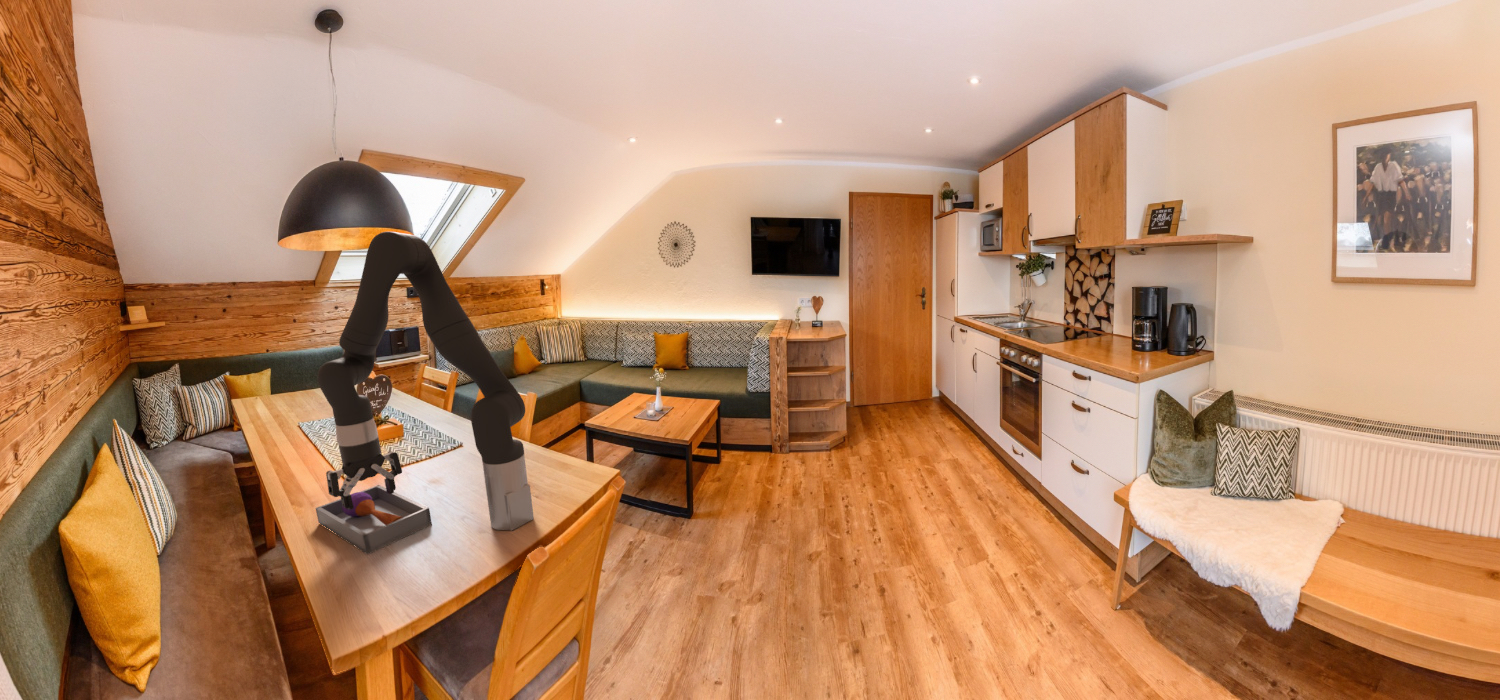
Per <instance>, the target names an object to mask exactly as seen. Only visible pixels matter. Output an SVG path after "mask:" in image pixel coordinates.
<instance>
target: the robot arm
mask: <svg viewBox="0 0 1500 700" xmlns="http://www.w3.org/2000/svg"><path fill="white" fill-rule="evenodd" d="M363 265H364V266H363V270H362V273H361V278H360V282H359V287H358V291H357V295H356V298H355V303H354V305H353V307H352V310H351V313H350V315H349V318H348V320H347V321H346V324H345V327H344V328H343V330H342V332H341V335H340V337H339V341H338V342H339V343H338V344H339V347H340V348H341V349H342V350H344V351H343V353H342V356H340V358H339V357H338V358H337V359H333V360H329V361H327V362H325V363H323V364H322V365H321V366H320V367H319V369H318V372H317V384H318V386H319V388H320V390H321V392H322V394H323V395H324V397H325V399H326V401H327V403H328V404H329V405H330V407H331V409H332V415H333V418H334V423H335V435H336V442H337V444H338V450H339V453H340V458H341V462H342V465H341V466H342V467H341V468H340V469H337V470H327V471H326V473H325V475H326V482H327V489H328V490H327V491H328V494H329V495H330V496H332V497H334V498H337V497H340V499H341V501H342V506H343V507H345V508H346V509H349V510H351V509H353V508H354V507H353V502H352V498H351V491H352V490H353V488H354V487H356V486H357V483H358V482H362V481H365V480H367V479H368V478H374V477H377V476H376V475H378V474H379V475H381V476H383V477H385V478H384V485H385V486H384V487H385V488H386V491H387V493H389V494H392V493H394V492H395V490H396V489H397V487H396V481H395V478H396V476H398V475H401V474H402V472H403V469H402V466H401V461H400V457H399V455H398V452H395V451H393V450H389V451H387V453H385V454H382V448H381V444H380V437H379V434H378V433H379V432H378V428H377V424H376V421H375V419H374V414H373V410H372V404H371V401H370V399H369V397H368V396H366V395H363V394H359V393H358V392H357V389H356V386H357V385H359V384H362V383H364V382H365V381H366V380H368V379H369V377H370V375H371V374H372V372H373V370H374V368H375V361H376V356H377V355H376V354H377V353H376V352H377V348H378V346H379V344H380V342H381V341H382V338H383V336H384V333H385V331H386V329H387V326H388V322H389V315H390V314H389V296H390V293H391V290H392V287H393V285H394V283H395V282H396V281H397V278H399V276H400V275H404V276H405V278H406V279H407V280H408V281H409V283H410V284H411V287H413V289H414V291H415V292H416V295H417V296H418V298H419V301H420V305H421V306H420V307H421V315H422V317H421V318H422V322H423V327H424V329H425V333H426V334H427V336H428V338H429V340H430V341H431V342H432V345H433V346H434V347H435V349H436V350H437V353H438V354H439V355H440V356H441V357H442V358H443V359H444V360H445V361H447V363H449V364H451V365H452V366H453V367H455V368H456V369H458V370H459V371H461V372H462V373H463V374H465V375H467V377H469V378H470V379H471V380H472V381H473V382H474V383H475V384H476V386H477V387H478V389H479V390H480V392H481V393H482V395H483V398H480V399H478V400H477V401H476V402H474V404H473V405H472V408H471V411H470V412H471V413H470V421H471V429H472V432H473V437H474V442H475V447H476V450H477V452H478V453H479V455H480V457H481V462H482V469H483V476H484V478H483V479H484V484H485V491H486V492H485V493H486V497H487V498H486V499H487V500H486V501H487V507H488V511H489V513H488V514H489V521H490V527H491V528H493V529H494V530H497V531H506V530H507V531H508V530H509V531H514V530H516V529H518V528H520V527H521V526H524V525H525V524H527V523H528V522H530V521H533V520H534V519H535V518H534V516H535V515H534V510H533V501H532V493H531V491H532V490H531V485H530V484H529V482H528V474H527V465H526V458H525V447H524V444H523V442H522V440H519V439H515V438H514V439H513V434H512V433H513V432H512V427H513V426H516V424H518V423H520V422H521V421H522V419H524V417H525V413H526V404H525V402H524V400H523V398H522V396H521V395H520V393H519V391H518V390H517V389H516V387H515V386H514V385H513V384H512V383H511V381H510V380H509V378H508V377H507V376H506V375H505V374H504V372H503V371H502V370H501V368H500V367H499V365H498V363H497V362H496V361H495V358H494V357H493V355H492V354H491V353H490V351H489V349H488V347H487V346H486V345H485V343H484V342H483V340H482V338H481V336H480V334H479V332H478V331H477V328H475V326H474V324H473V323H472V321H471V320H470V318H469V316H468V315H467V313H466V311H465V310H464V308H463V307H462V305H461V304H460V302H459V300H458V299H457V297H456V294H455V293H454V292H453V290H452V289H451V287H450V286H449V284H448V282H447V280H446V278H445V276H444V274H443V272H442V270H441V268H440V265H439V263H438V260H437V259H436V257H435V255H434V253H433V251H432V249H431V247H430V246H429V244H428V243H427V242H426V241H425V240H423V239H422V238H421V237H419V236H417V235H414V234H410V233H405V232H404V233H402V232H398V231H397V232H396V231H383V232H380V233H378V234H376V235H375V236H374V237H373V238H372V240H371V241H370V243H369V245H368V249H367V253H366V256H365V260H364V264H363ZM385 461H387V462H389V464H390V465H389V466H390V467H391V470H390V471H388V470H387V469H385V468H384V467H383V465H384V463H385ZM342 475H345V478H344V480H343V481H342V485H341V487H340V485H339V480H340V479H341V476H342Z"/></svg>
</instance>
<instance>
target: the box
mask: <svg viewBox="0 0 1500 700" xmlns="http://www.w3.org/2000/svg"><path fill="white" fill-rule="evenodd" d="M360 492H364V493H367V494H369V495H370V496H371V497H372V501H373V502H374V505H375V510H378V511H381V512H385V513H389V514H392V515H396V516H400V517H403V518H401V519H399V520H397V521H394V522H392V523H390V524H388V525H385V524H383V523H382V522H381V521H380V520H378V519H377V518H376V517H375V516H373V515H372V514H370V515H366V516H355V517H352V516H349V515H347V514H345V513H344V512H343V507H342V501H341V498H339V499H336V500H333V501H331V502H328V503H325V504H322V505H320V506H317V507H315V511H316V516H317V517H316V518H317V521H318V524H319V523H320V524H321V525H323V526H325V527H326V528H328V529H330V530H331V531H333V532H334V533H336V534H337V535H339V536H340V537H342V538H343V539H342V538H341V539H342V540H344V539H345V540H347V541H348V542H350V543H351V544H350V543H349V544H350V545H352V544H353V545H355V546H356V547H357V548H356V547H355V546H354V547H355V548H356V549H358V548H359V549H358V550H360V551H361V550H362V551H361V552H363V553H365V554H366V555H369V554H372V553H374V552H376V551H378V550H380V549H382V548H385V547H386V546H389V545H391V544H393V543H395V542H397V541H399V540H401V539H404V538H405V537H407V536H409V535H413V534H414V533H416V532H419V531H420V530H421V531H422V530H423V529H424V528H425V529H426V528H427V527H430V526H431V525H432V517H431V511H430V507H427V506H426V505H424V504H421V503H419V502H417V501H415V500H413V499H410V498H408V497H406V496H404V495H402V494H399V493H397V492H395V491H394V493H392V494H389V493H387V491H386V487H385V486H382V485H380V484H377V485H374V486H372V487H369V488H367V489H364V490H361V491H360ZM321 525H320V526H321ZM323 526H322V527H323ZM326 528H325V529H326ZM331 531H330V532H331ZM334 533H333V534H334ZM337 535H336V536H337ZM339 536H338V537H339ZM340 537H339V538H340ZM345 540H344V541H345ZM347 541H346V542H347ZM348 542H347V543H348ZM353 545H352V546H353ZM375 550H376V551H375ZM373 551H374V552H373Z"/></svg>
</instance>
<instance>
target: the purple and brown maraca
mask: <svg viewBox="0 0 1500 700" xmlns="http://www.w3.org/2000/svg"><path fill="white" fill-rule="evenodd" d="M350 495H351V498H352V502H353V507H354V508H353V509H351V510H349V509H346V508H345V507H343V506H342V507H343V512H344V513H345V514H347V515H349V516H352V517H355V516H366V515H370V514H372V515H373V516H375V517H376V518H377V519H378V520H380V521H381V522H382V523H383V524H385V525H388V524H390V523H392V522H394V521H397V520H399V519H401V518H403V517H400V516H396V515H392V514H389V513H385V512H381V511H378V510H375V505H374V502H373V501H372V497H371V496H370V495H369V494H367V493H364V492H361V491H356V492H354V493H350Z"/></svg>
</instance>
